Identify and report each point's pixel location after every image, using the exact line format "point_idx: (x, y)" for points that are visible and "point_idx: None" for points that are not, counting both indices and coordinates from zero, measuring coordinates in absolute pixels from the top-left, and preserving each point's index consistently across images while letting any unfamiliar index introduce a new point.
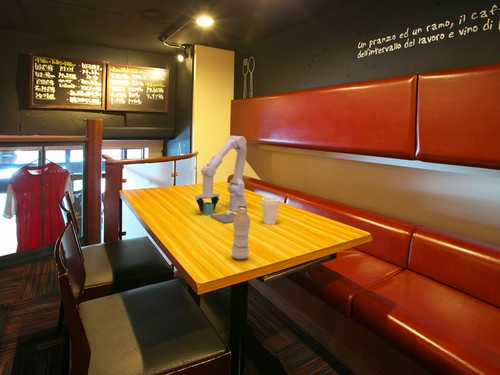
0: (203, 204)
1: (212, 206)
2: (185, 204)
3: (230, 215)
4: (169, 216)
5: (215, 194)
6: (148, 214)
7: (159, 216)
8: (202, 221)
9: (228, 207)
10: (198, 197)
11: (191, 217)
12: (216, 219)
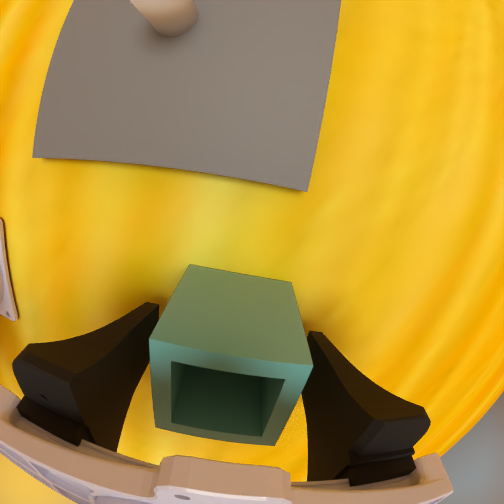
0: (290, 408)
1: (182, 318)
2: None
3: (111, 56)
4: (461, 380)
5: (34, 468)
6: (460, 427)
7: (474, 393)
8: (450, 138)
9: (5, 316)
10: (431, 482)
11: (426, 301)
12: (329, 56)
